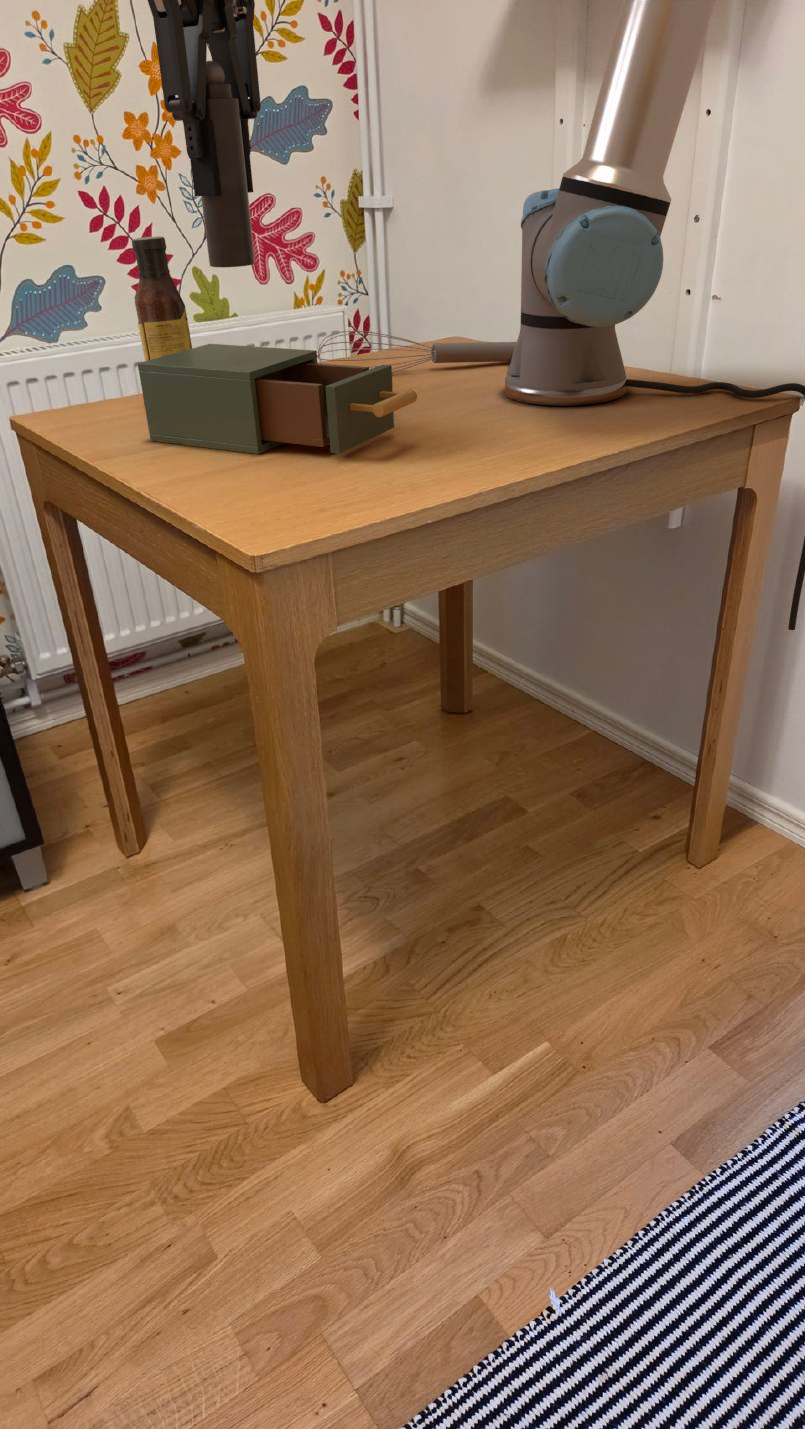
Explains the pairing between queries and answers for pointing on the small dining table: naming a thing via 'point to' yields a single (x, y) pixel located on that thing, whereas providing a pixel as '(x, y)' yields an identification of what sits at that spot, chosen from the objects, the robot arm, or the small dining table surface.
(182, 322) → the sauce bottle
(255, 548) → the small dining table surface
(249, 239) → the pepper mill
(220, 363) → the cabinet
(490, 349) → the kitchen whisk
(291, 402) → the drawer
